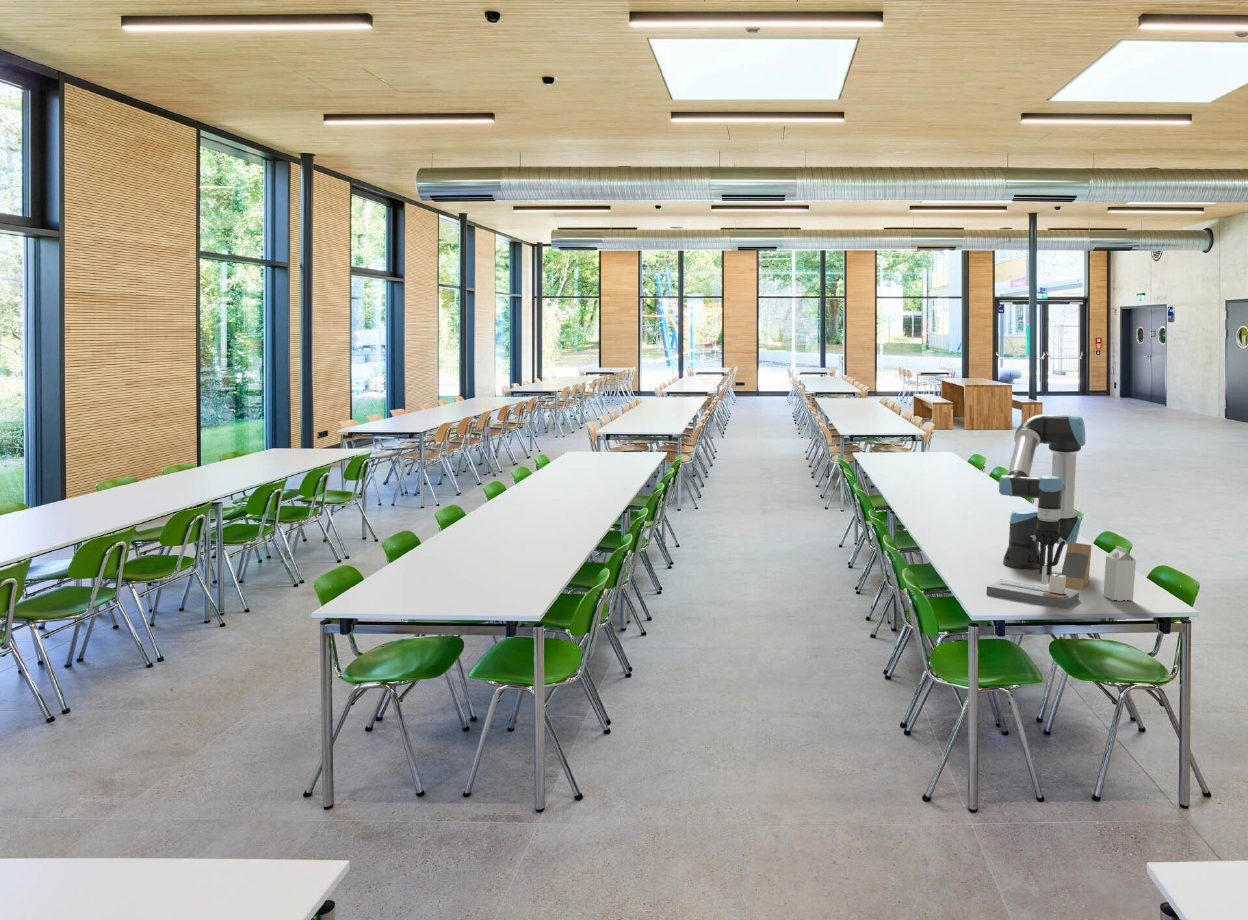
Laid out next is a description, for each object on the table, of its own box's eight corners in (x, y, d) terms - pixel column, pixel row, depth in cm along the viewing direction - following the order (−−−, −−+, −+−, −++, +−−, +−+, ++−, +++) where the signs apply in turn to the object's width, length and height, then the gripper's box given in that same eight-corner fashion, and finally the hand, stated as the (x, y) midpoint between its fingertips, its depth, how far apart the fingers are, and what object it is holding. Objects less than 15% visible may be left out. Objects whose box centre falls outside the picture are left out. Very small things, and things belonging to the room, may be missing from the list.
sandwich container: (1057, 587, 359) (1059, 548, 357) (1065, 579, 371) (1067, 541, 369) (1081, 590, 354) (1084, 551, 352) (1089, 582, 366) (1091, 544, 364)
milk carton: (1122, 595, 346) (1125, 545, 344) (1133, 601, 339) (1136, 549, 337) (1103, 596, 346) (1106, 545, 344) (1113, 601, 339) (1117, 549, 336)
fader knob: (1052, 589, 341) (1053, 573, 340) (1064, 591, 338) (1066, 575, 337) (1048, 591, 338) (1049, 575, 337) (1061, 594, 335) (1062, 577, 335)
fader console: (1000, 586, 359) (1000, 578, 358) (1078, 600, 340) (1079, 591, 340) (986, 594, 348) (986, 585, 348) (1066, 608, 330) (1067, 599, 329)
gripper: (1026, 518, 339) (1022, 582, 342) (1064, 523, 331) (1060, 588, 334) (1033, 515, 345) (1029, 578, 348) (1071, 520, 336) (1066, 584, 339)
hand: (1044, 583), depth 341 cm, fingers closed
